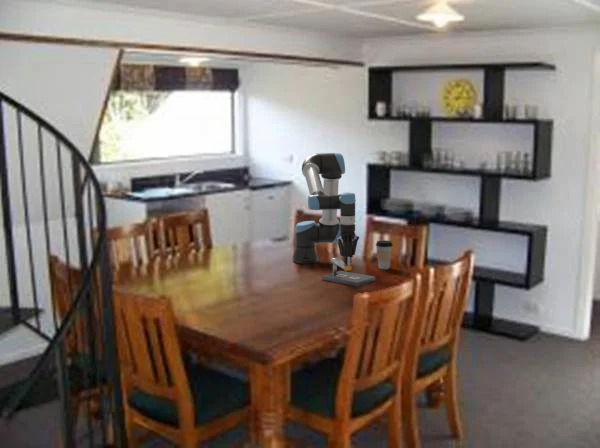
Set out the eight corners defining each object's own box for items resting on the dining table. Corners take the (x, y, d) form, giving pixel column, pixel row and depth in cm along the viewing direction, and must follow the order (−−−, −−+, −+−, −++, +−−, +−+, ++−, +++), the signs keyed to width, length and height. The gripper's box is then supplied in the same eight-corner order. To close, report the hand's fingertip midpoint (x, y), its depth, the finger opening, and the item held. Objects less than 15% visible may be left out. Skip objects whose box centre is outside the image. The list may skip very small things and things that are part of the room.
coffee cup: (392, 266, 374) (392, 240, 372) (392, 270, 365) (393, 243, 362) (375, 266, 375) (375, 240, 373) (375, 269, 366) (375, 243, 363)
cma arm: (330, 261, 348) (330, 257, 348) (337, 261, 350) (337, 257, 349) (344, 270, 328) (344, 266, 328) (352, 270, 329) (352, 265, 329)
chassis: (322, 279, 344) (322, 264, 342) (340, 274, 356) (340, 259, 355) (357, 286, 330) (357, 270, 328) (375, 280, 342) (375, 265, 341)
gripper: (341, 226, 326) (341, 272, 330) (362, 223, 332) (362, 269, 336) (332, 223, 332) (333, 269, 336) (353, 221, 339) (353, 266, 343)
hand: (347, 269), depth 336 cm, fingers closed
